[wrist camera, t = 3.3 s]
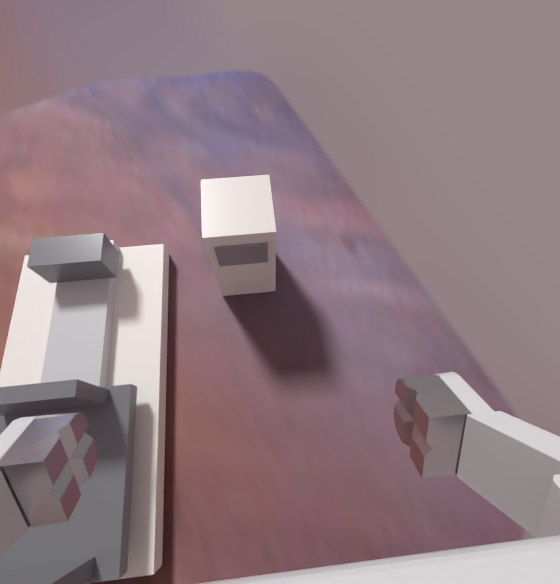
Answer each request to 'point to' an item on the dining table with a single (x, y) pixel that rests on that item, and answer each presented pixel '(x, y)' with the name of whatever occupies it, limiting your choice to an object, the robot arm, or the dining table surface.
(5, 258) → the dining table surface
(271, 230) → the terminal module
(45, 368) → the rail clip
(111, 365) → the board
